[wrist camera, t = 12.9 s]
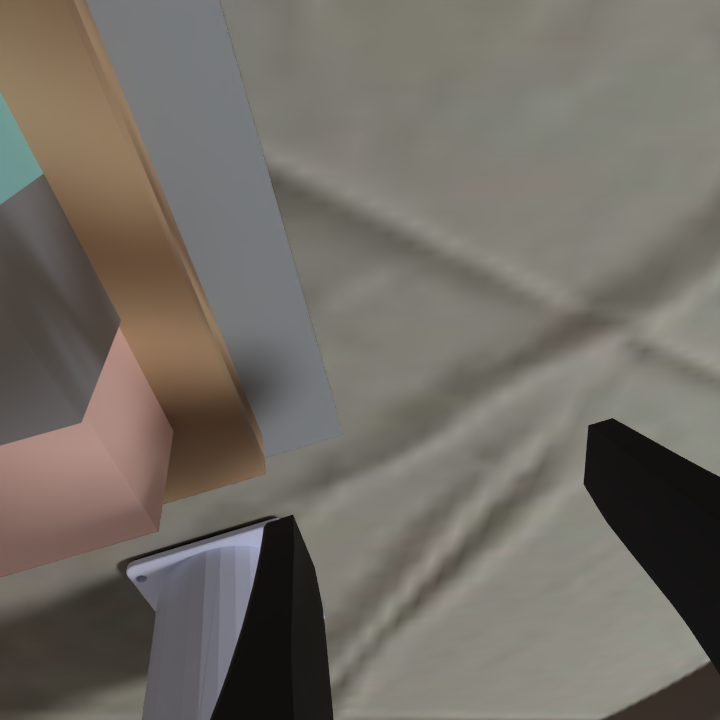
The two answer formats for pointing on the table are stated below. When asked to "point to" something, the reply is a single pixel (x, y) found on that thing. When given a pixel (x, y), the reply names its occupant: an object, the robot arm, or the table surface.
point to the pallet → (103, 261)
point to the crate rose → (87, 473)
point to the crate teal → (14, 156)
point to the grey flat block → (222, 204)
